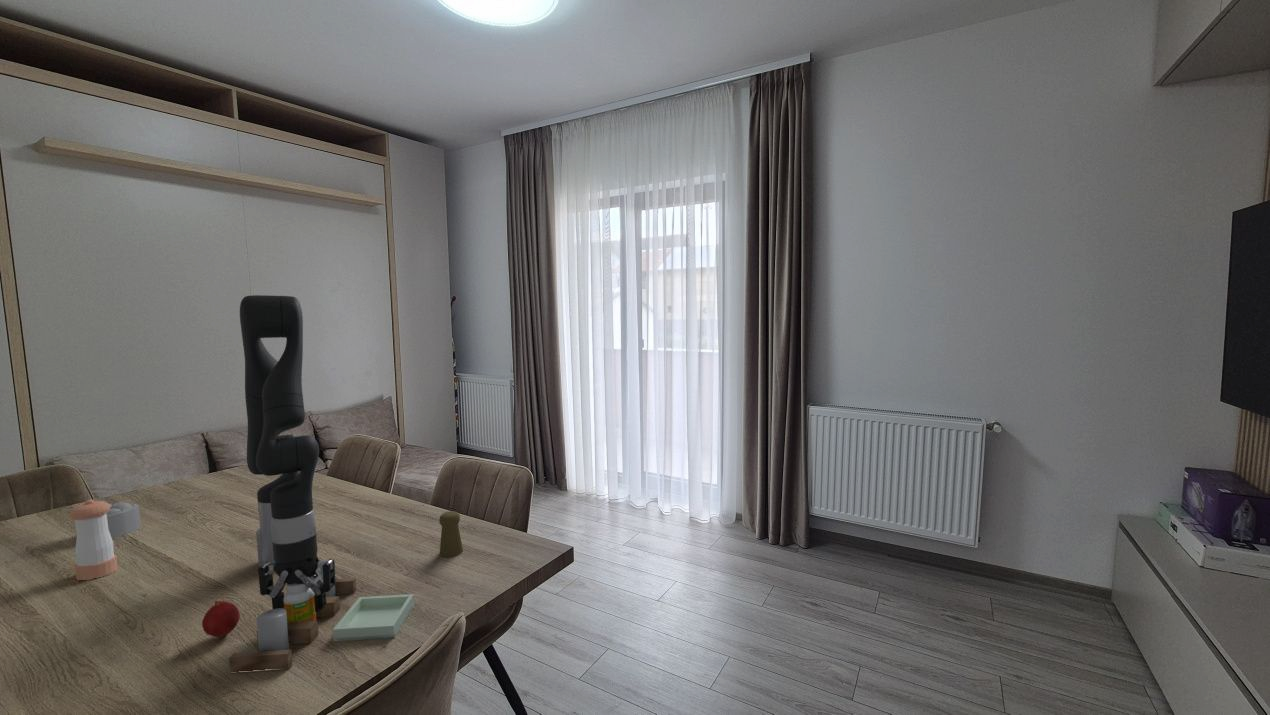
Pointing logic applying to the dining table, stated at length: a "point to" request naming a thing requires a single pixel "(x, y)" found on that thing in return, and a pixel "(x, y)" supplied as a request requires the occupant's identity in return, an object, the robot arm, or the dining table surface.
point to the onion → (220, 619)
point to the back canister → (332, 590)
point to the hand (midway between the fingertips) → (300, 611)
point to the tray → (374, 618)
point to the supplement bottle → (299, 603)
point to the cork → (450, 535)
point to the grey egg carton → (123, 518)
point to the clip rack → (291, 636)
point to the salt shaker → (93, 541)
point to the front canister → (273, 630)
